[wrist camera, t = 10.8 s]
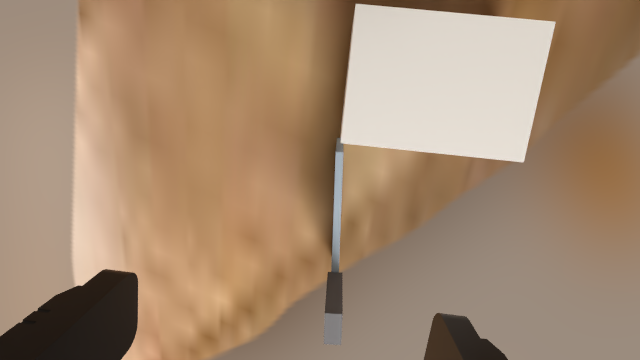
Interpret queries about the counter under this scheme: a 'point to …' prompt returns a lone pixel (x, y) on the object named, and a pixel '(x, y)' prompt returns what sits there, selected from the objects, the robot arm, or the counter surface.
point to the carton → (443, 81)
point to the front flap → (335, 262)
